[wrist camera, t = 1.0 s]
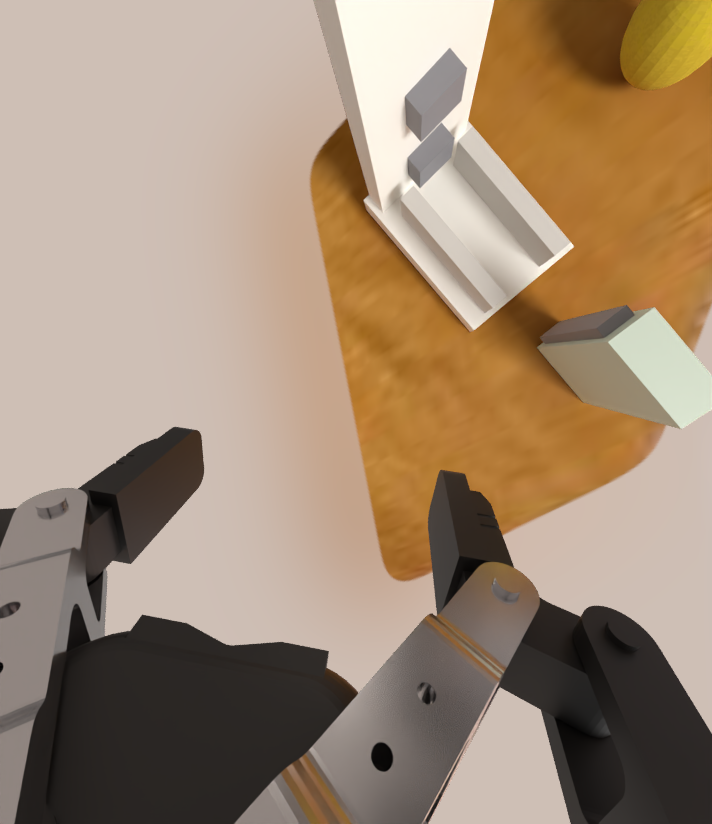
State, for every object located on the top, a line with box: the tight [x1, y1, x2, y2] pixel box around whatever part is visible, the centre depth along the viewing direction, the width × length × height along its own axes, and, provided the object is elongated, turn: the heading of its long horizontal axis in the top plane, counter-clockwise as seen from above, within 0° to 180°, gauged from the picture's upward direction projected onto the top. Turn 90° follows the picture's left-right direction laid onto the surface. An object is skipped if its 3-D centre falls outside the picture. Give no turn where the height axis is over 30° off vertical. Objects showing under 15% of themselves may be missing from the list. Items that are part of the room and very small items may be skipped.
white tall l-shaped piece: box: [314, 0, 574, 332], centre depth 17 cm, size 14×9×24 cm, turn 41°
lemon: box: [620, 0, 712, 90], centre depth 21 cm, size 6×6×8 cm
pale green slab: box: [537, 305, 712, 429], centre depth 23 cm, size 7×3×11 cm, turn 41°
